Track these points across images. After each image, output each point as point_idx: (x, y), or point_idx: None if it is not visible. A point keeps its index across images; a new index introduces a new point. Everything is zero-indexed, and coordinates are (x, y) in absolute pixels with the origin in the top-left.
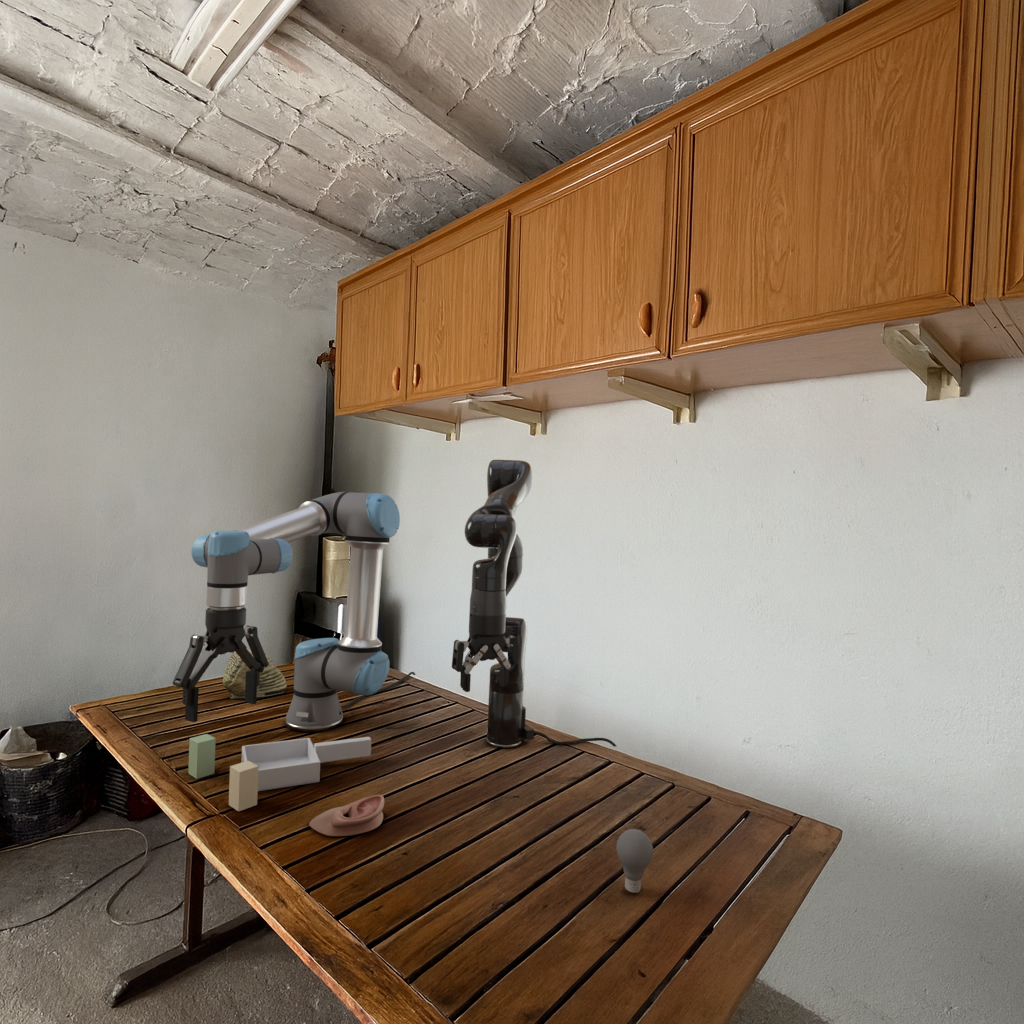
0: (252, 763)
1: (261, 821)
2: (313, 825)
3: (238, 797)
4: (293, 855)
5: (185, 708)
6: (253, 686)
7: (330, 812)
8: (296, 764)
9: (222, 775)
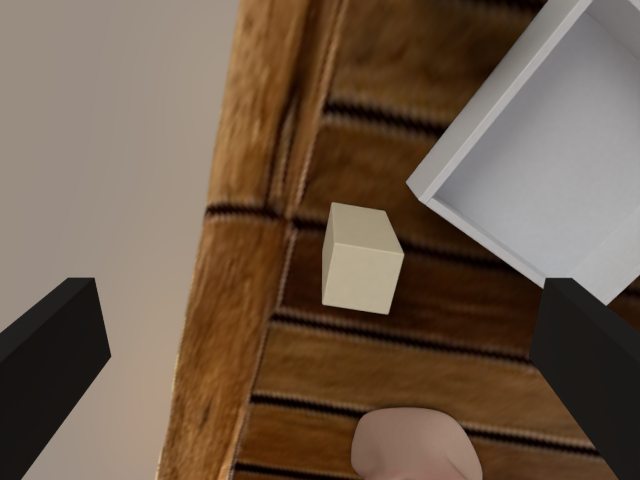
0: (392, 285)
1: (322, 326)
2: (359, 432)
3: (322, 265)
4: (271, 454)
5: (19, 318)
6: (606, 452)
7: (397, 455)
8: (540, 280)
9: (464, 3)
